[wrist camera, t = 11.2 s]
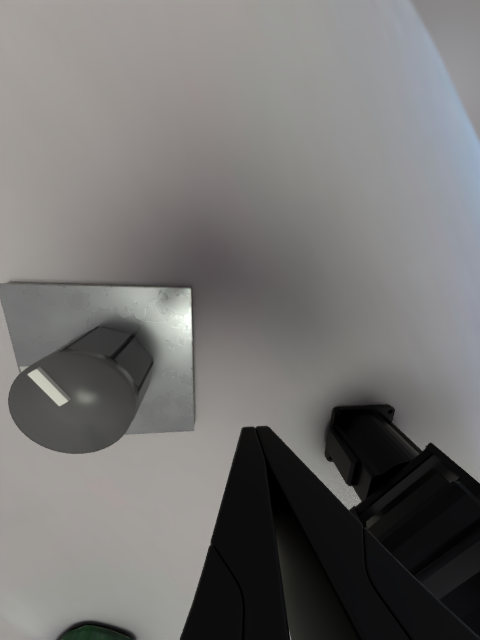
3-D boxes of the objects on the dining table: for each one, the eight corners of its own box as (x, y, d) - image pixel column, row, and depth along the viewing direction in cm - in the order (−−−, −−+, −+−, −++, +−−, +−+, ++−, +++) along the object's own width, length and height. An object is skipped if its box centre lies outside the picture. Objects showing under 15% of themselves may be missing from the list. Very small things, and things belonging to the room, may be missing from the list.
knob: (169, 378, 19) (154, 423, 14) (101, 416, 19) (62, 474, 14) (119, 312, 17) (81, 337, 12) (43, 354, 17) (-26, 396, 12)
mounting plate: (192, 286, 18) (184, 298, 13) (194, 423, 22) (189, 469, 17) (9, 282, 16) (-72, 293, 12) (45, 430, 20) (-7, 484, 15)
